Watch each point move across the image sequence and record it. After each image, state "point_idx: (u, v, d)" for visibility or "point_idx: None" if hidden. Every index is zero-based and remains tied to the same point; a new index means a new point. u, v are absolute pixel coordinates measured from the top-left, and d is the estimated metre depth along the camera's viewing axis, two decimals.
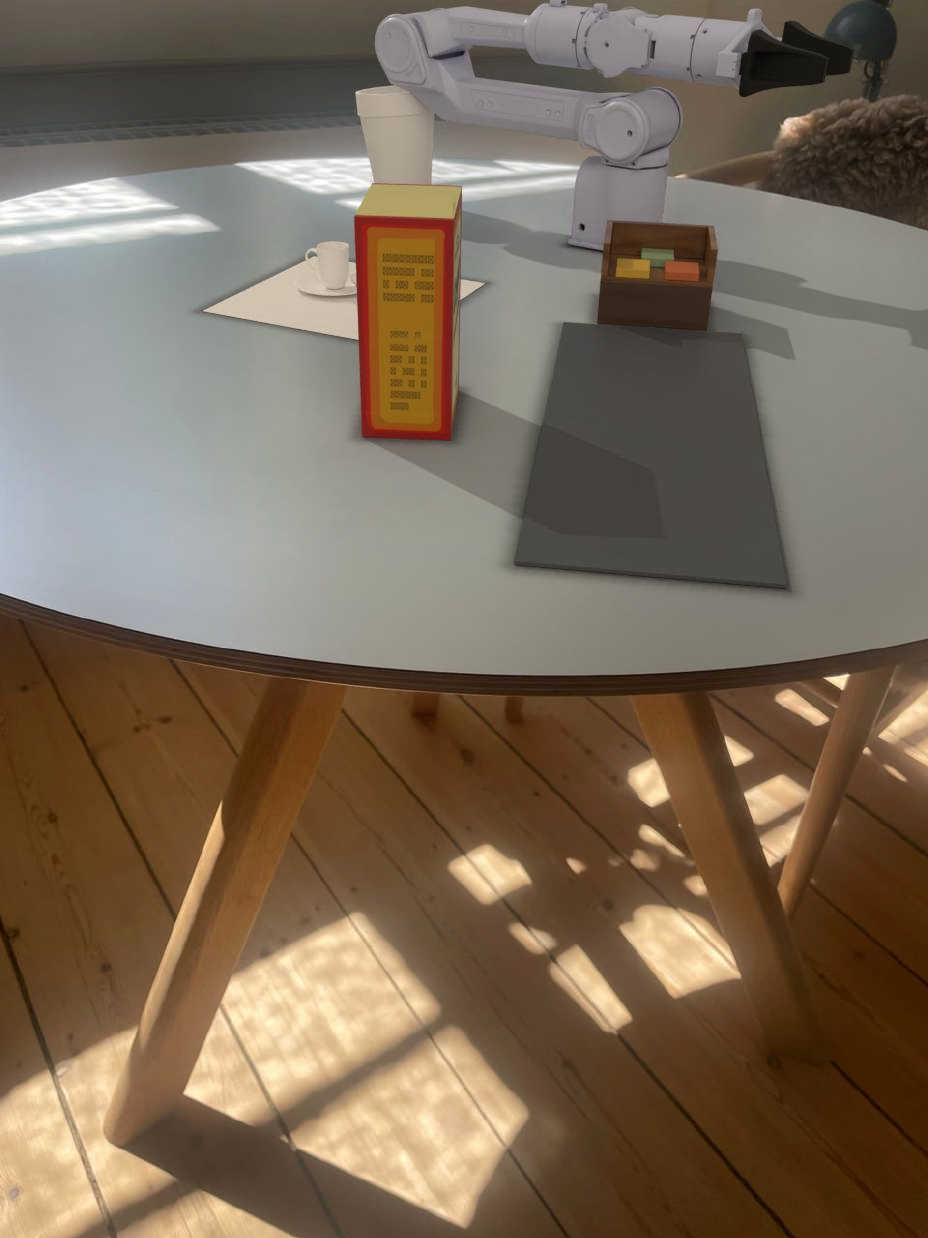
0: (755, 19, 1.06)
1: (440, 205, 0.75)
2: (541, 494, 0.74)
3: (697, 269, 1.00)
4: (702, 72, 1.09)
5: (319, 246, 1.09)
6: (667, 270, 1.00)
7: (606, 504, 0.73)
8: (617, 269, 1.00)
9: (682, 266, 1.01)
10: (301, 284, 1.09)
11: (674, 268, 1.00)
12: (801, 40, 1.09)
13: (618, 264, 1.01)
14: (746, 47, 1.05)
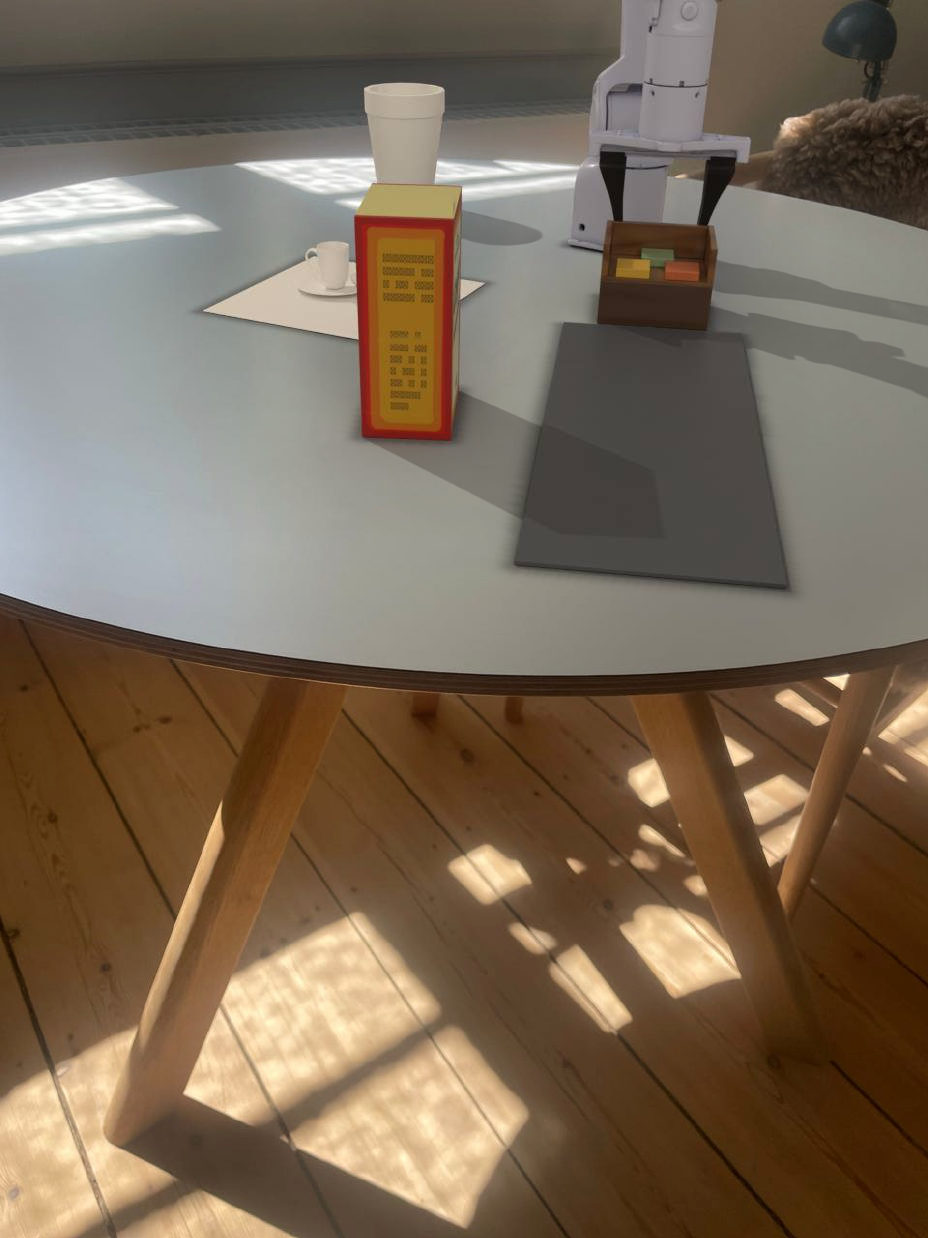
0: None
1: (440, 205, 0.75)
2: (541, 494, 0.74)
3: (697, 269, 1.00)
4: None
5: (319, 246, 1.09)
6: (667, 270, 1.00)
7: (606, 504, 0.73)
8: (617, 269, 1.00)
9: (682, 266, 1.01)
10: (301, 284, 1.09)
11: (674, 268, 1.00)
12: (704, 186, 1.03)
13: (618, 264, 1.01)
14: (636, 148, 1.02)
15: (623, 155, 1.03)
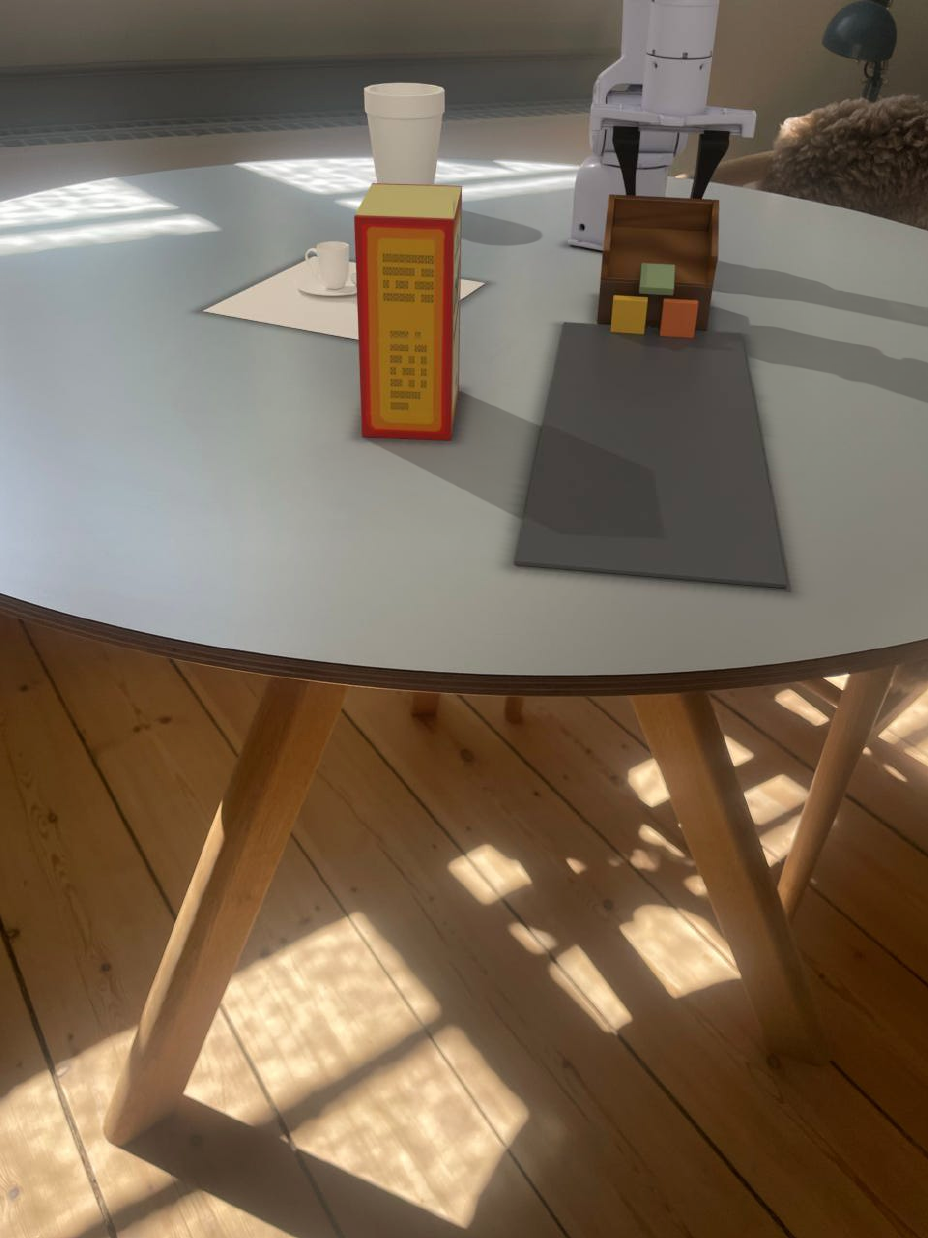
0: None
1: (440, 205, 0.75)
2: (541, 494, 0.74)
3: (693, 327, 0.99)
4: None
5: (319, 246, 1.09)
6: (661, 333, 0.99)
7: (606, 504, 0.73)
8: (611, 331, 1.00)
9: (679, 320, 0.99)
10: (301, 284, 1.09)
11: (669, 327, 0.99)
12: (698, 161, 1.00)
13: (613, 320, 0.99)
14: (638, 122, 0.99)
15: (637, 130, 1.00)
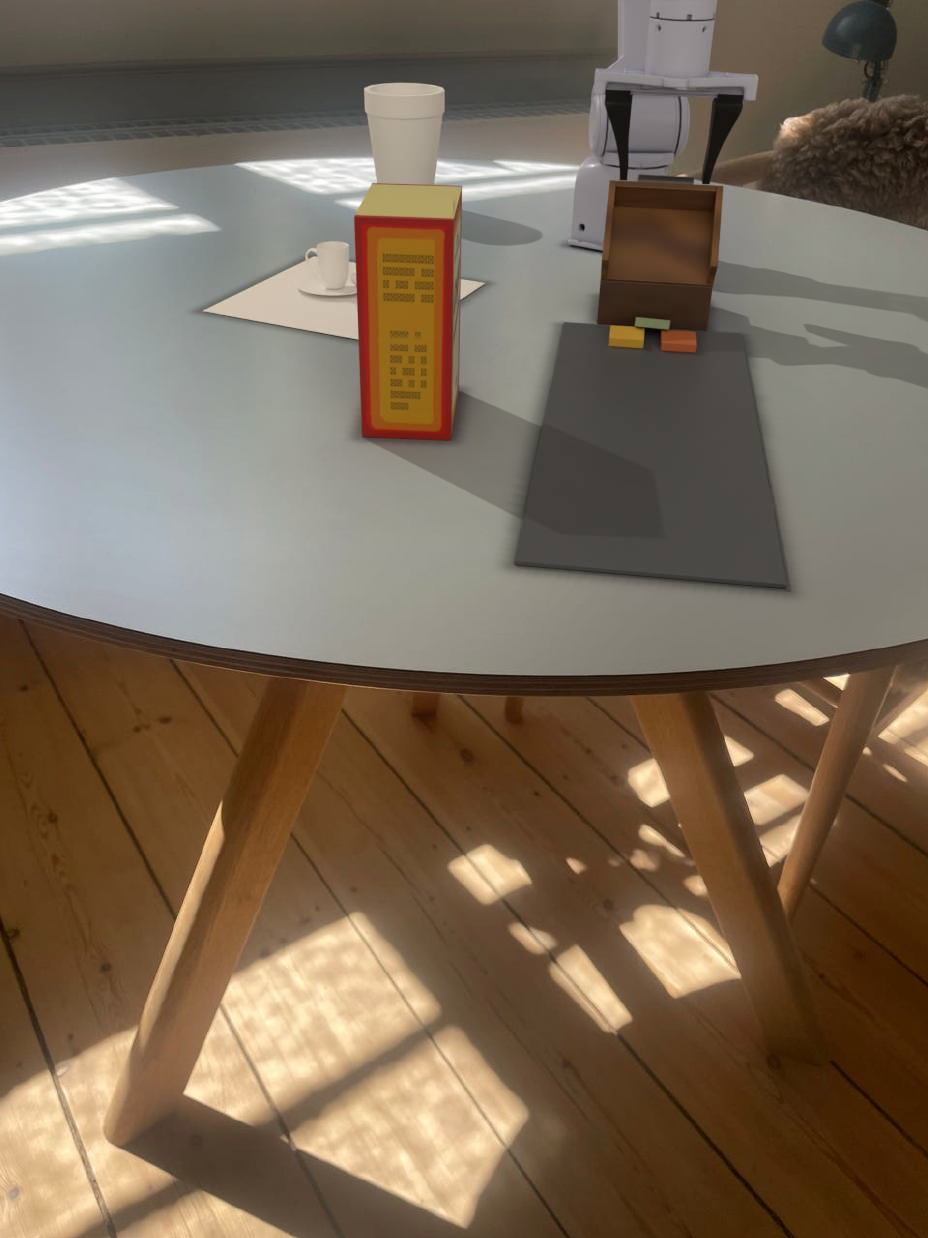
0: None
1: (440, 205, 0.75)
2: (541, 494, 0.74)
3: None
4: None
5: (319, 246, 1.09)
6: None
7: (606, 504, 0.73)
8: None
9: None
10: (301, 284, 1.09)
11: None
12: (711, 125, 1.02)
13: None
14: (642, 85, 1.01)
15: (629, 93, 1.02)
